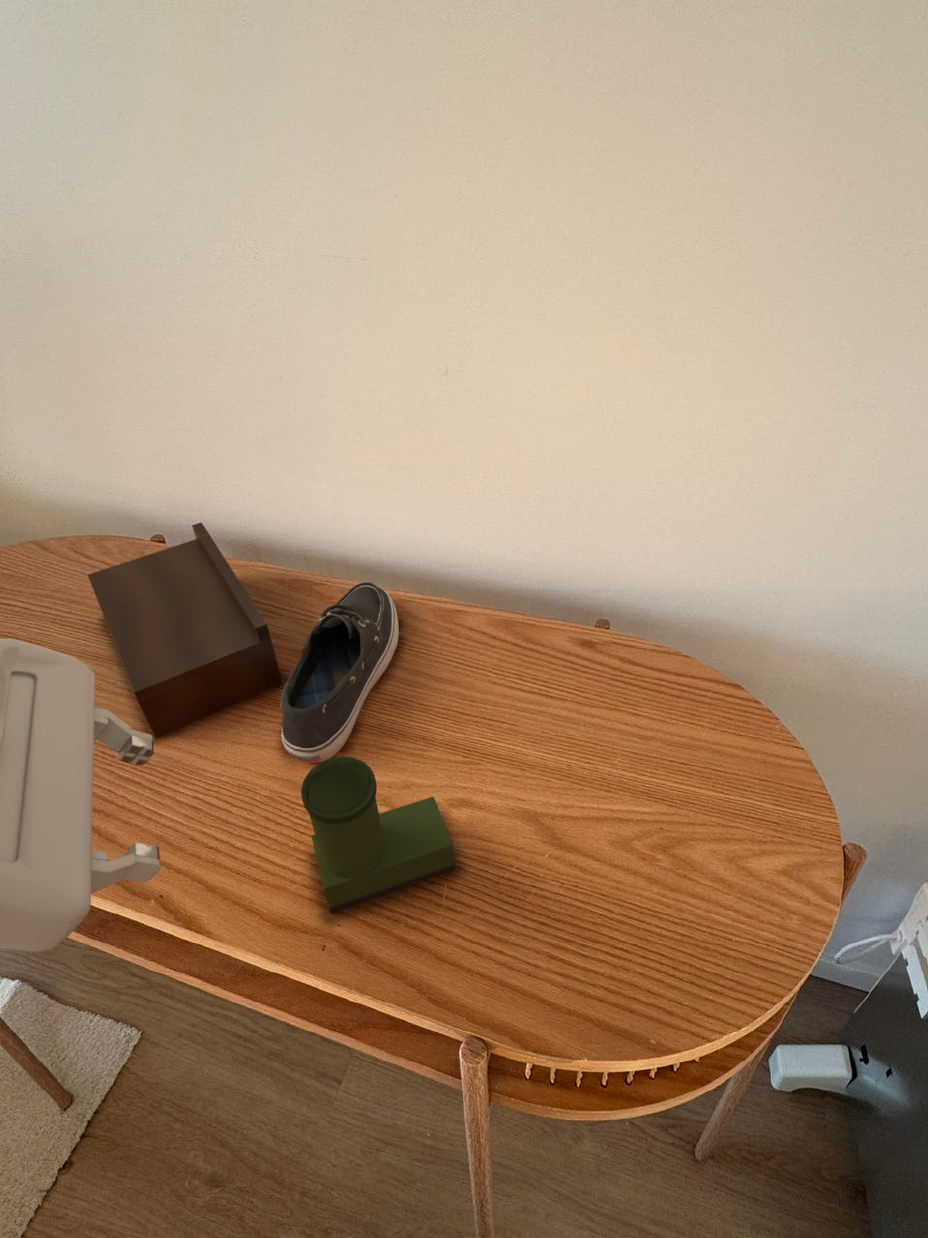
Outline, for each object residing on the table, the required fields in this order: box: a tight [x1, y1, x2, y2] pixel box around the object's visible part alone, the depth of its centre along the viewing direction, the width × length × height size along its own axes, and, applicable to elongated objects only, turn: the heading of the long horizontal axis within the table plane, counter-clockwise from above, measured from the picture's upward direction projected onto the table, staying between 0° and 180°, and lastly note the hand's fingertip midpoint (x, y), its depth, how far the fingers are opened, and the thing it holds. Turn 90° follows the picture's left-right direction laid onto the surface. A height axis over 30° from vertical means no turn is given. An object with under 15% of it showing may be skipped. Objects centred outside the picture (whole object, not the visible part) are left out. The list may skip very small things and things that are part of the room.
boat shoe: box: [279, 582, 400, 764], centre depth 79 cm, size 26×9×8 cm, turn 165°
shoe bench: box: [87, 521, 284, 739], centre depth 82 cm, size 14×22×9 cm, turn 32°
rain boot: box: [300, 756, 457, 914], centre depth 60 cm, size 11×6×13 cm, turn 110°
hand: (152, 804), depth 49 cm, fingers open, 8 cm apart
